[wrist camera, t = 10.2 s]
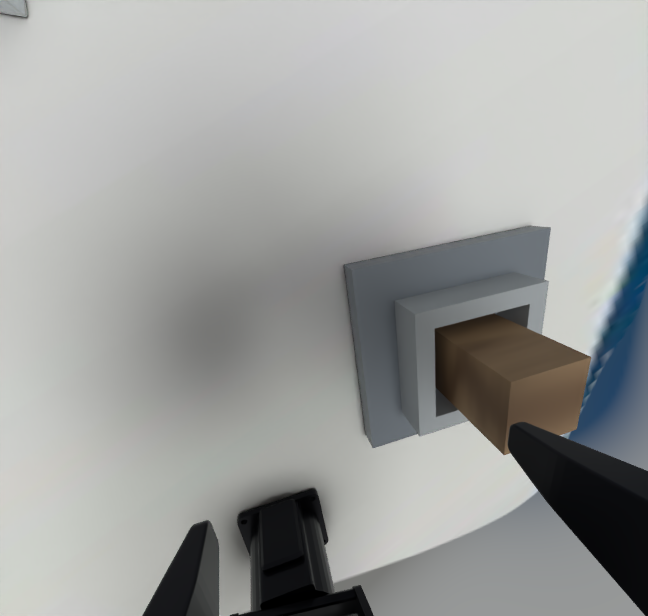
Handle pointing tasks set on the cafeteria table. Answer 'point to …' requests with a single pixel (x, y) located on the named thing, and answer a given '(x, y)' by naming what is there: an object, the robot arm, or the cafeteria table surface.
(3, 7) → the syrup box
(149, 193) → the cafeteria table surface
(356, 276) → the socket block
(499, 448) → the walnut peg
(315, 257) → the cafeteria table surface
